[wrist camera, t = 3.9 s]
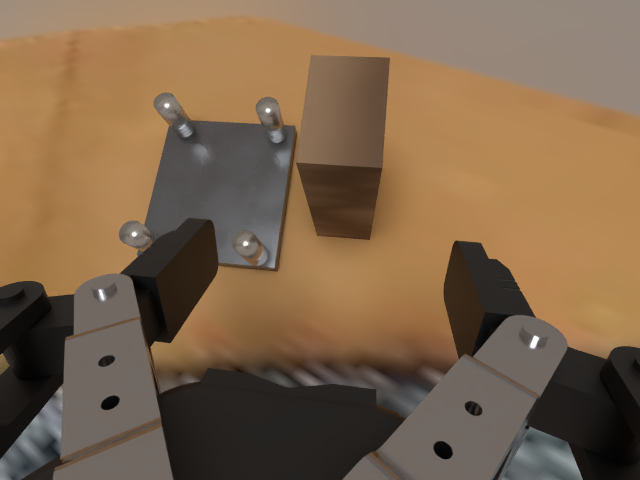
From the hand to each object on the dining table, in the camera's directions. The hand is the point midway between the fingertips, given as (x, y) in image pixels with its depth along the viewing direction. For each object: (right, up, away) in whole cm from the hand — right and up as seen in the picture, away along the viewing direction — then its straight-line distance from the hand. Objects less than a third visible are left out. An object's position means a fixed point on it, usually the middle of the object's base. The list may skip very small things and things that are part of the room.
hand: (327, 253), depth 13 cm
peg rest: (-7, +4, +13) cm, 15 cm away
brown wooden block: (+2, +3, +12) cm, 13 cm away
